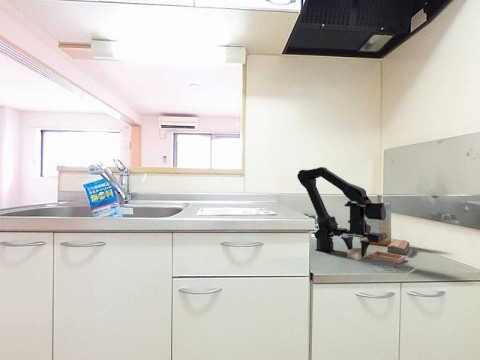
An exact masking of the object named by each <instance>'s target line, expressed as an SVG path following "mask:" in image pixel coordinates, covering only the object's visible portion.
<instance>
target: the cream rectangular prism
mask: <svg viewBox="0 0 480 360" xmlns="http://www.w3.org/2000/svg"><path fill="white" fill-rule="evenodd" d="M367 252H368V249H367V250H366V253H365V255H364V257H366V256H367ZM346 253H347V254H346V256H347V258H346V259H349V258H351V259H350V260H353V259H356V260H355V261H358V260H359V259H362V258H364V257H362V254H361V247H357V246H356V247H353V248H352V249H349V250H348V249H347V251H346Z"/></svg>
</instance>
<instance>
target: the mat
mask: <svg viewBox="0 0 480 360" xmlns="http://www.w3.org/2000/svg"><path fill="white" fill-rule="evenodd" d="M370 253H371V252H368V251H367V256H366V257H364V258H362V259H359V260H356V259H351V258H347V255H346V256H344V258H345V259H350V260H355V261H358V262H362V263H366V264H370V265H376V266H380V267H386V268H389V269H392V268H394V267H395V266H397V265H398V264H397V263H392V262H387V261H383V260H378V259H373V258H369V254H370ZM378 256H381V255H378ZM383 257H386V256H383ZM388 258H391V257H388ZM393 259H396V258H393Z"/></svg>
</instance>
